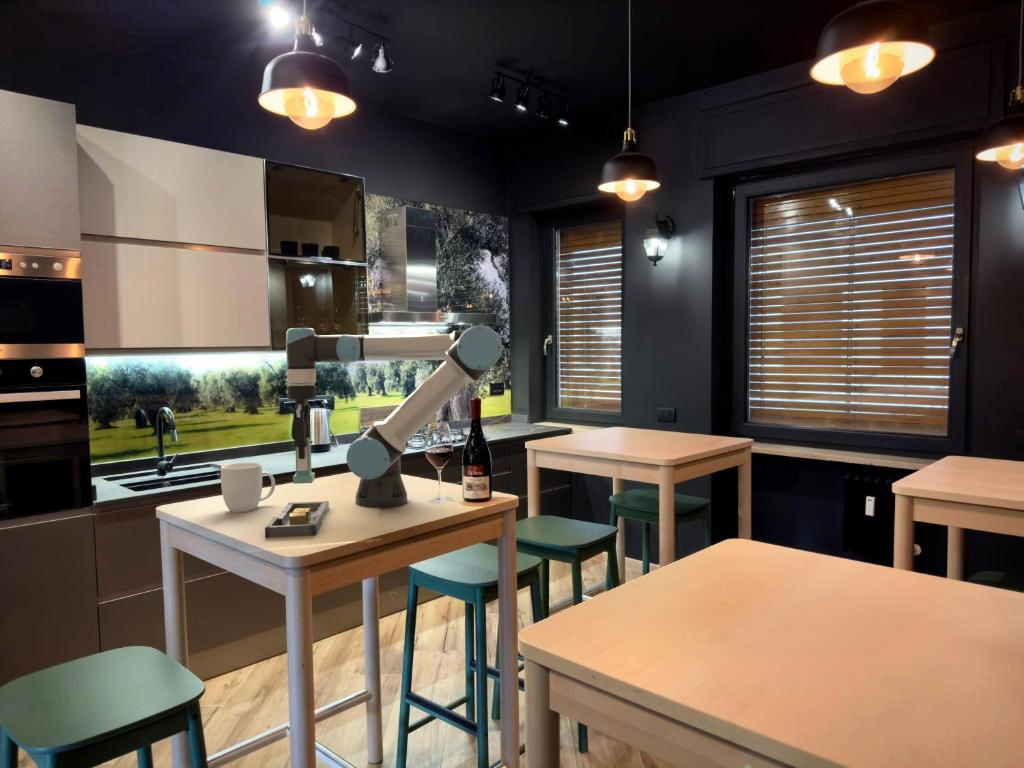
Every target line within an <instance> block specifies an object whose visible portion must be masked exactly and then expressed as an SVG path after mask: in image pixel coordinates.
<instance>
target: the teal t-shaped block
mask: <svg viewBox="0 0 1024 768" xmlns="http://www.w3.org/2000/svg"><path fill="white" fill-rule="evenodd" d="M311 439H312V437H311V438H306V444H307V452H308V470H306V471H297V447H294V448H295V474H294V475H293V476H292V485H293V484H295V485H296V484H298V485H299V484H313V482H314V481H315V480H316V479H315V478H316V477H315V474H316V473H315V472H314V471H313V472H312V449H311V448H312V444H311V441H312V440H311Z"/></svg>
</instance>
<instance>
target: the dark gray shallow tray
mask: <svg viewBox="0 0 1024 768" xmlns="http://www.w3.org/2000/svg"><path fill="white" fill-rule="evenodd" d="M329 504H330V503H329V500H322V501H318V500H317V501H301V502H300V501H299V502H298V501H297V502H288V503H287V505H286V506H285V507H284V508H283V510H281V512H280V513H279V514H278V516H277V517H278V521H279V526H283V525H290V521H289V516H290V513H293V511H294V510H295V509H296V508H311V518H310V519H309V521H306V524H312V522H313V520H314V519H315V517H316V515H321V520H322V521H323V520H324V517H325V516H326V514H327V513H328V510H329V509H330V505H329Z"/></svg>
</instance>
